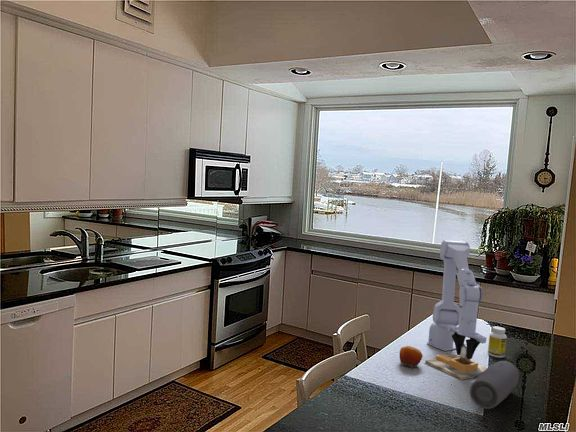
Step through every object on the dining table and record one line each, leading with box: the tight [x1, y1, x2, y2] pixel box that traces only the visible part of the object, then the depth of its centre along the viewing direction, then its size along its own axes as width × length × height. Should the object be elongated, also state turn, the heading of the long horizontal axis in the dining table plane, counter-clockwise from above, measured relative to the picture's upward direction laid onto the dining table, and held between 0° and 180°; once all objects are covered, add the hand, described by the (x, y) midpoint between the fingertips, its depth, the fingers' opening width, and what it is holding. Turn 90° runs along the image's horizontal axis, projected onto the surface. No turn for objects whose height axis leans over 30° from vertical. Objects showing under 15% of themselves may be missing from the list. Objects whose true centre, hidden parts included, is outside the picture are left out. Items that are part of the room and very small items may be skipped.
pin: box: [459, 343, 471, 364], centre depth 169 cm, size 4×4×6 cm
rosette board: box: [424, 353, 488, 381], centre depth 172 cm, size 17×16×1 cm
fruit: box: [399, 345, 424, 370], centre depth 171 cm, size 8×8×8 cm
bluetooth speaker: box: [469, 360, 520, 410], centre depth 147 cm, size 23×9×10 cm, turn 141°
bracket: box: [435, 353, 479, 373], centre depth 172 cm, size 14×7×3 cm, turn 33°
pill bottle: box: [487, 325, 507, 359], centre depth 187 cm, size 6×6×11 cm
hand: (464, 356), depth 169 cm, fingers closed on pin, 4 cm apart
